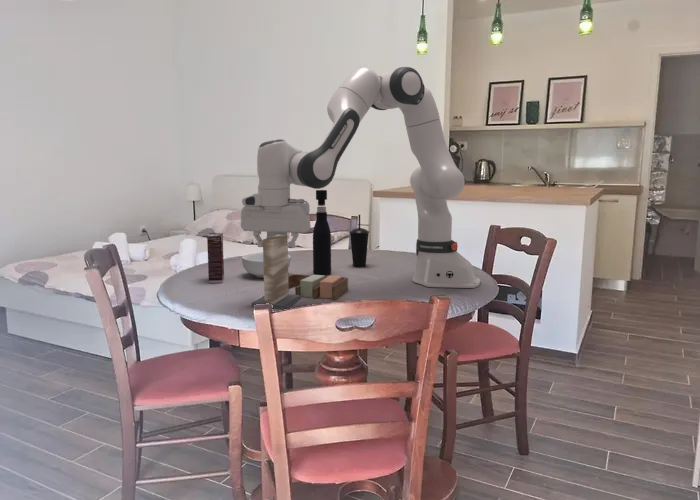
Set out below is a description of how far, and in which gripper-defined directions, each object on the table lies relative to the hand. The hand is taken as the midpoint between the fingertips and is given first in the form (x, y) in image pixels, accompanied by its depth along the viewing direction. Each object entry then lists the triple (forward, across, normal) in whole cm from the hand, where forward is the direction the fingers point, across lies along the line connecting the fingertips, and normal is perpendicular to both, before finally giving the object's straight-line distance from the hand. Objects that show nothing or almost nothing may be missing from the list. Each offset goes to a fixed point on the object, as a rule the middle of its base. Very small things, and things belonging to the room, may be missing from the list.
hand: (276, 247), depth 154 cm
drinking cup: (+17, -8, -57) cm, 60 cm away
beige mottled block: (+15, 0, 0) cm, 15 cm away
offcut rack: (+16, -5, -13) cm, 21 cm away
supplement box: (+16, +32, -20) cm, 41 cm away
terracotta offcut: (+17, -12, -13) cm, 24 cm away
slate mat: (+16, 0, 0) cm, 16 cm away
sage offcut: (+16, -6, -13) cm, 22 cm away
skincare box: (+17, +27, -59) cm, 67 cm away
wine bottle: (+17, +1, -40) cm, 43 cm away
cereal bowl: (+16, +19, -32) cm, 41 cm away
